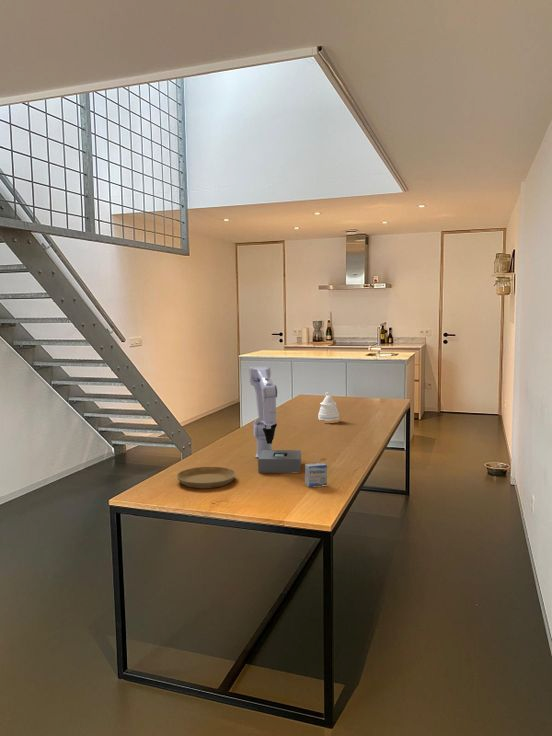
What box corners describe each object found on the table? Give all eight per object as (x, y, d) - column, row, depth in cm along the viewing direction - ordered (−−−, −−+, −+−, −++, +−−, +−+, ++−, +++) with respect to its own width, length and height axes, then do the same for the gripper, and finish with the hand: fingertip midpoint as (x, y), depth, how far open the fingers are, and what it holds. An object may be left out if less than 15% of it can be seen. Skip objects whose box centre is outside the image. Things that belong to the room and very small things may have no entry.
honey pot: (314, 421, 360) (314, 392, 358) (332, 419, 365) (332, 391, 363) (324, 424, 348) (324, 395, 346) (342, 422, 354) (343, 393, 352)
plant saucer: (207, 470, 254) (207, 462, 253) (248, 480, 238) (247, 472, 238) (164, 483, 235) (164, 475, 235) (205, 495, 220) (205, 486, 220)
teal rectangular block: (275, 465, 258) (275, 454, 257) (284, 465, 257) (284, 454, 257) (274, 467, 254) (274, 456, 253) (283, 467, 253) (283, 456, 253)
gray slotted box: (261, 462, 264) (261, 449, 263) (301, 463, 263) (301, 450, 262) (258, 472, 248) (258, 458, 248) (299, 473, 247) (299, 459, 246)
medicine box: (308, 488, 226) (308, 466, 225) (304, 484, 230) (304, 463, 230) (327, 486, 228) (327, 464, 227) (323, 483, 233) (323, 462, 232)
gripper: (262, 409, 267) (262, 438, 268) (259, 414, 252) (259, 445, 253) (277, 409, 266) (278, 438, 267) (275, 414, 252) (275, 445, 253)
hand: (270, 441), depth 260 cm, fingers open, 7 cm apart
